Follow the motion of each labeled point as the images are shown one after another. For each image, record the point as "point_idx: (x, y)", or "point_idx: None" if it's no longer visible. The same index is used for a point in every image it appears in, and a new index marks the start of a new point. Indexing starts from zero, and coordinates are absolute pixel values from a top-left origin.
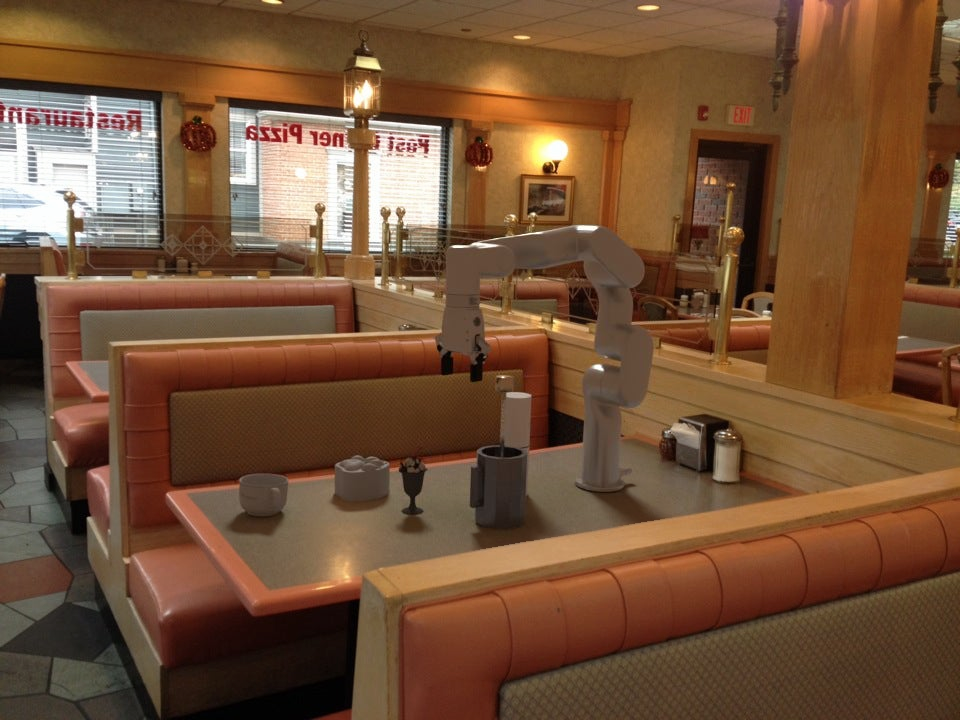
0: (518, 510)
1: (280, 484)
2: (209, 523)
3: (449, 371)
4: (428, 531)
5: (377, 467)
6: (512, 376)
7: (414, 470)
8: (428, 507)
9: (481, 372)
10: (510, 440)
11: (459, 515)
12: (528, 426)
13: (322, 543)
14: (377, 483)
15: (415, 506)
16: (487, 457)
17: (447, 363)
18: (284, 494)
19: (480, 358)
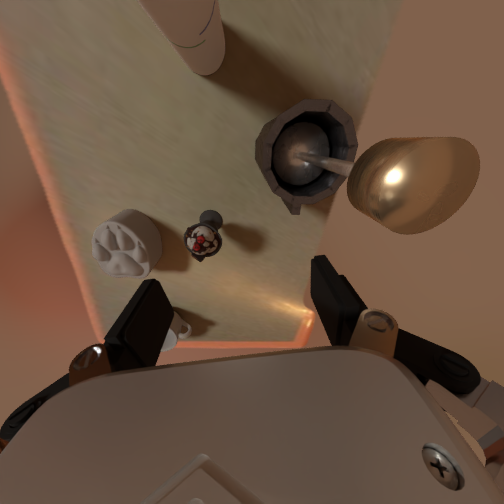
0: None
1: (173, 332)
2: (177, 342)
3: (160, 300)
4: (267, 234)
5: (137, 245)
6: (457, 139)
7: (215, 246)
8: (206, 199)
9: (351, 288)
10: (198, 22)
11: (245, 183)
12: None
13: (246, 304)
14: (152, 240)
15: (213, 221)
16: (316, 201)
17: (152, 337)
18: (173, 320)
19: (417, 373)
